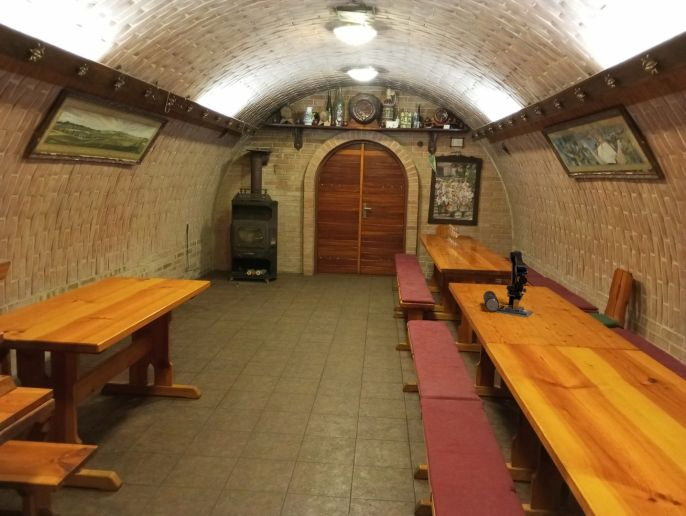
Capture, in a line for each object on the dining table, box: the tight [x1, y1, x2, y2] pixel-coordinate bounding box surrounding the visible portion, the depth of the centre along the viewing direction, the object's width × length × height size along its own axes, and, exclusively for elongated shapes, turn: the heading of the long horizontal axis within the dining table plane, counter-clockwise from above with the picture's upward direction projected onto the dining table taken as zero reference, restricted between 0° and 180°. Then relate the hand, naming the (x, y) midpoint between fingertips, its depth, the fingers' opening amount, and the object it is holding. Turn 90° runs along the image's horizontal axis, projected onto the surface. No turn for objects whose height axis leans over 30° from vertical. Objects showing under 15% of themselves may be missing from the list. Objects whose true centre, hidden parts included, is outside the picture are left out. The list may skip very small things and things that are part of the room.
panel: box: [494, 306, 534, 318], centre depth 389 cm, size 16×22×1 cm
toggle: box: [513, 299, 520, 309], centre depth 391 cm, size 3×3×7 cm
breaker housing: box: [505, 305, 527, 312], centre depth 388 cm, size 13×12×2 cm
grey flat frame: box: [496, 305, 527, 315], centre depth 389 cm, size 15×20×1 cm
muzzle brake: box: [483, 290, 500, 312], centre depth 399 cm, size 10×28×10 cm, turn 169°
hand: (517, 303), depth 394 cm, fingers closed
